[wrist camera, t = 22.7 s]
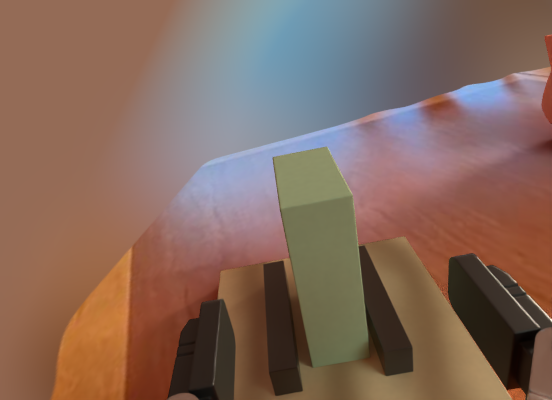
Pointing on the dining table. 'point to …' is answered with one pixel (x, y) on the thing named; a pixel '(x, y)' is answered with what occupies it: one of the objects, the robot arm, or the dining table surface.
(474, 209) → the dining table surface
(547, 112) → the teapot
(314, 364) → the green rectangular block
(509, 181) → the dining table surface
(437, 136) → the dining table surface
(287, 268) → the seat base
